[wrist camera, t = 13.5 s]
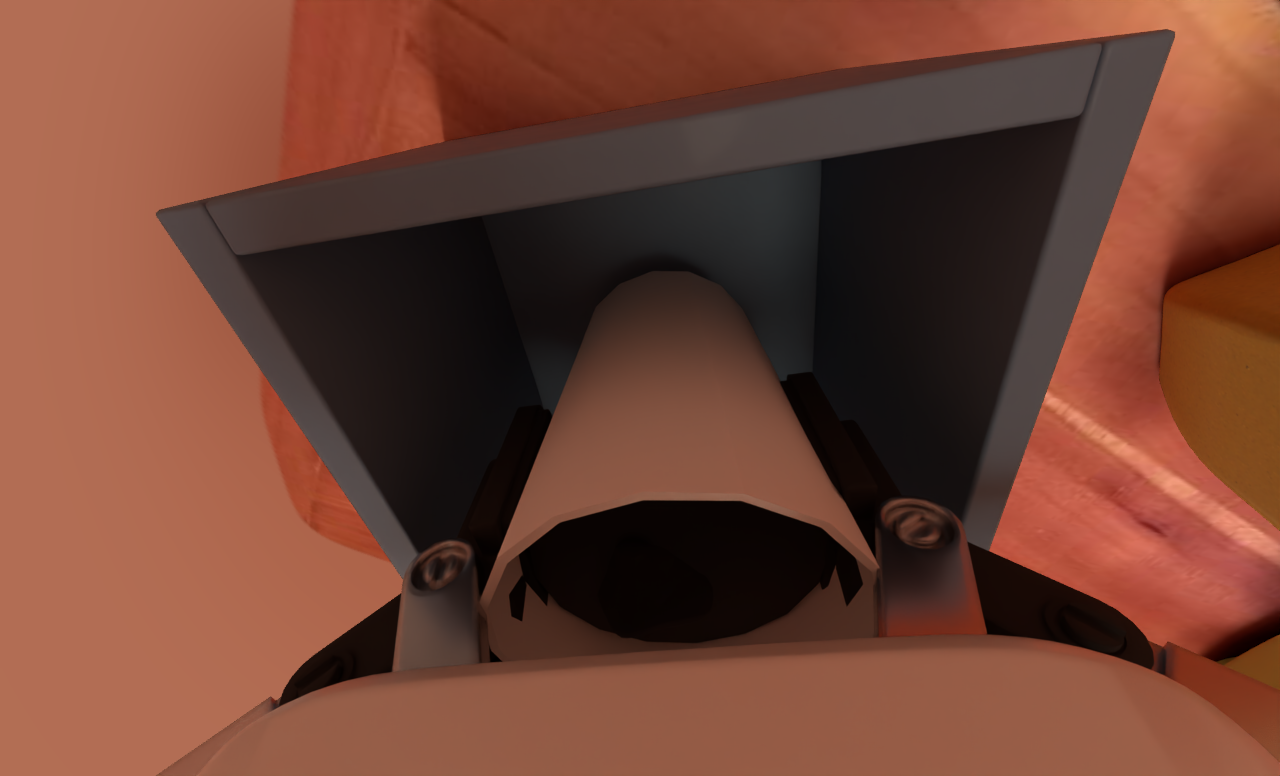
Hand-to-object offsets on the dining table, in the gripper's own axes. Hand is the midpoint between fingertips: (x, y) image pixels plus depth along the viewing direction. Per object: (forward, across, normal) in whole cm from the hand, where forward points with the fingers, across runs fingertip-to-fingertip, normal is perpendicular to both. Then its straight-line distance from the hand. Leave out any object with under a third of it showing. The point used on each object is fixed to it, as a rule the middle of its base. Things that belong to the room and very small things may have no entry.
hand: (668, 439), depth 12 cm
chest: (+9, 0, +1) cm, 9 cm away
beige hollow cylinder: (+5, 0, 0) cm, 5 cm away
